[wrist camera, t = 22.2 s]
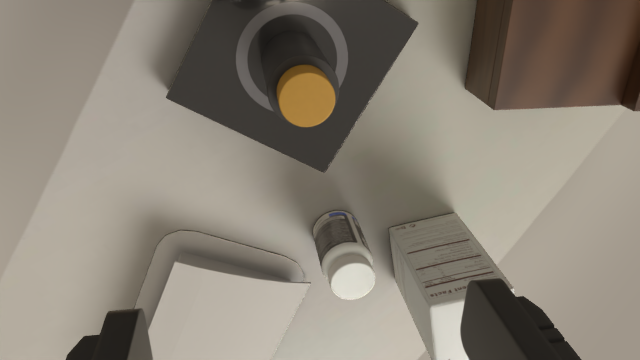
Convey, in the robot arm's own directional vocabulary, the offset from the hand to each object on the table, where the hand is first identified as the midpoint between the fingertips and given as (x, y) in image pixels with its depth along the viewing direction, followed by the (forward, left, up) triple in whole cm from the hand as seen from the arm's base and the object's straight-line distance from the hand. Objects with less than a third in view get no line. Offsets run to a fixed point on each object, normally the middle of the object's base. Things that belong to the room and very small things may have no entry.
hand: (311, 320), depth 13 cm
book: (+26, -17, -33) cm, 46 cm away
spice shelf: (+8, +23, -33) cm, 41 cm away
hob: (+2, +2, -33) cm, 33 cm away
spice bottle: (+2, +2, -31) cm, 31 cm away
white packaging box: (+26, +8, -33) cm, 43 cm away
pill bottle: (+20, 0, -33) cm, 39 cm away
